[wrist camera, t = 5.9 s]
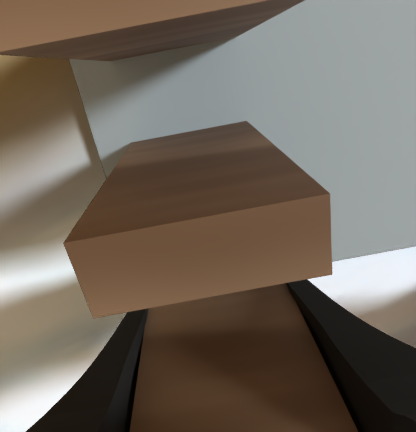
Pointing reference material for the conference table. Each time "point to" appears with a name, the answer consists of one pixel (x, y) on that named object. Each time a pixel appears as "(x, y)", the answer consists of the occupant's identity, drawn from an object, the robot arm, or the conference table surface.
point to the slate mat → (289, 106)
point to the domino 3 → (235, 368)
